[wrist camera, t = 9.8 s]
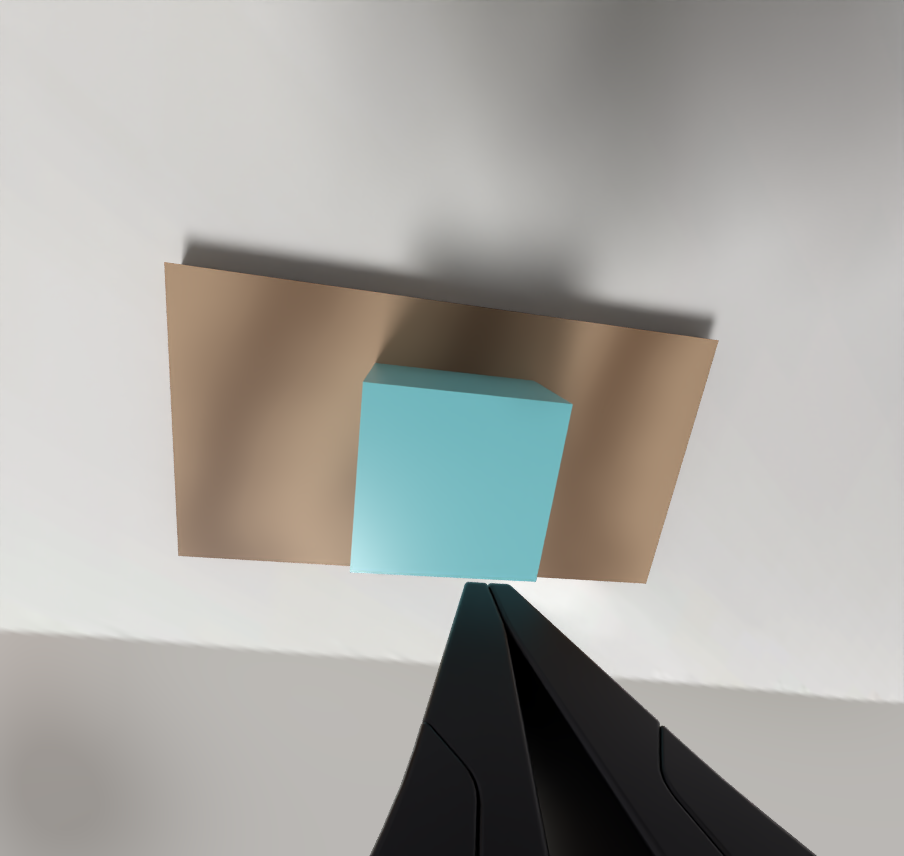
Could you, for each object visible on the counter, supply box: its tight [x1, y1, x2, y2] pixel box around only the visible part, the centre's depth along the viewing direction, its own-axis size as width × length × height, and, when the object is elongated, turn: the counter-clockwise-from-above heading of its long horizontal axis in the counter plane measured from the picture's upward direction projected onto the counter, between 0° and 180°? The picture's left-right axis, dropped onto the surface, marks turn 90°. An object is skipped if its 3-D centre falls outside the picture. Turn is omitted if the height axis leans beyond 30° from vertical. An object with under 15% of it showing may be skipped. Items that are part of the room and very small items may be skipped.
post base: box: [164, 262, 719, 584], centre depth 16 cm, size 20×11×4 cm, turn 83°
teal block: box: [350, 363, 573, 582], centre depth 14 cm, size 6×6×4 cm
